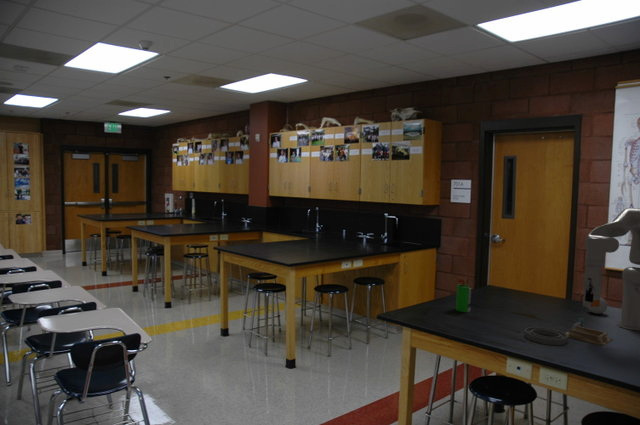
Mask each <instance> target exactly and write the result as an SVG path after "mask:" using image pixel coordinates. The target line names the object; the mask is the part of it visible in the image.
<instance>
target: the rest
mask: <svg viewBox="0 0 640 425" xmlns="http://www.w3.org/2000/svg"><path fill="white" fill-rule="evenodd" d="M564 333H565V334H566V335H568V339H573V340H577V341H580V342H586V343H589V344H593V345H597V346H601V347H603V346H605V345H607V344H608V343H610V342H611V341H613V338H611V337H608V332H606V331H601V330H597V329H592V328H589V327H588V328H587V327H580V326H576V330H572V329H568V331H566V332H564Z"/></svg>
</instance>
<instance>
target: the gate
mask: <svg viewBox="0 0 640 425" xmlns="http://www.w3.org/2000/svg"><path fill="white" fill-rule="evenodd" d="M584 324H585V318H582V317H579V318H578V322H576V323H574V324H572V327H571V328H572V329H571V330H576V326H580V327H584ZM584 328H585V327H584Z"/></svg>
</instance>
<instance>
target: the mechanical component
mask: <svg viewBox="0 0 640 425" xmlns="http://www.w3.org/2000/svg"><path fill="white" fill-rule="evenodd" d="M565 333H566V332H563V331H561V330H558V329H554V328H550V327H549V328H548V327H541V326H531V327H530V326H529V327H526V328H525V329H524V337H525V338H526V339H528V340H530V341H532V342H535V343H540V344H543V345H550V346H561V345H562V346H564V345H567V344H568V339H569V338H568V335H566V334H565Z"/></svg>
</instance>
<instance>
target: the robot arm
mask: <svg viewBox="0 0 640 425" xmlns="http://www.w3.org/2000/svg"><path fill="white" fill-rule="evenodd" d="M629 232H630V233H631V243H630V249H629V255H628V257H629V258H628V260H629V262H630V263H631V264H633V265H636V266H637V265H638V266H640V207H639V208H638V207H637V208H636V207H627V208H624V209H623V210H621V212H620V213H618V215H617V216H616V217H615V218H614V219H613V220H612V221H611V222H608V223H604V224H603V225H600V226H597V227H594V229H592V230H591V231H590V232H589V233H588V234H587V236H586V237H585V239H584V247H585V249H586V250H585V263H584V265H585V268H584V275H583V288H584V287H586V291H585V292H586V294H585V301H588V302H593V294H592V293H593V289H594V288H596V287H597V286H598V283H602V278H603V277H602V275H603V274H602V271H603V270H602V268H604V263H605V253H609V254H612V253H615V252H616V251H618V249H619V247H620V242H619V240H618V239H617V238H619V237H623V236H626V235H627V234H628V233H629ZM636 266H628V267H625V268H624V269H623V270H622V272H621V278H622V285H623V289H622V301H621V302H622V303H621V315H620V316H621V318H620V321H618V322H617V324H616V325H617V326H618V327H620V328H623V329H626V330H630V331H638V332H639V331H640V267H636ZM591 284H592V287H590V285H591ZM590 288H591V289H590Z"/></svg>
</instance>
